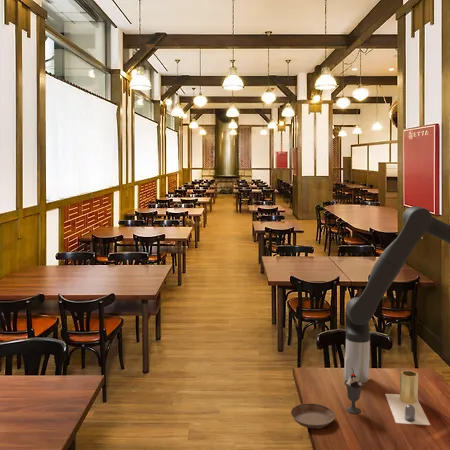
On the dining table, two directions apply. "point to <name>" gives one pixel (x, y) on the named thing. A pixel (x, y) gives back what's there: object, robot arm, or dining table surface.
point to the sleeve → (408, 386)
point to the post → (410, 413)
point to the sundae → (353, 392)
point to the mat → (399, 410)
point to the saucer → (312, 415)
